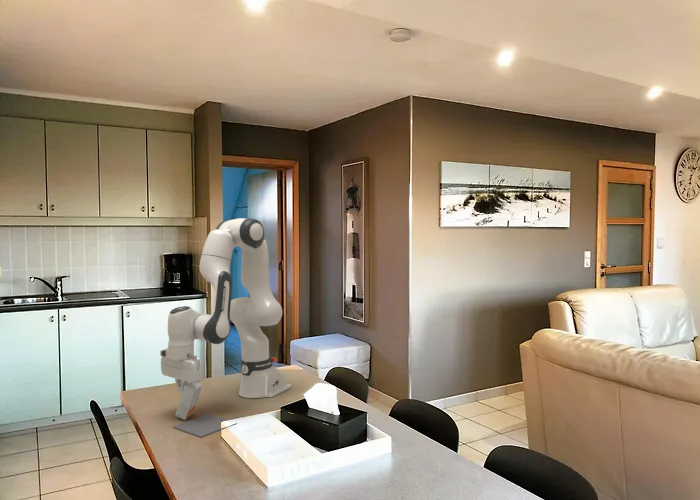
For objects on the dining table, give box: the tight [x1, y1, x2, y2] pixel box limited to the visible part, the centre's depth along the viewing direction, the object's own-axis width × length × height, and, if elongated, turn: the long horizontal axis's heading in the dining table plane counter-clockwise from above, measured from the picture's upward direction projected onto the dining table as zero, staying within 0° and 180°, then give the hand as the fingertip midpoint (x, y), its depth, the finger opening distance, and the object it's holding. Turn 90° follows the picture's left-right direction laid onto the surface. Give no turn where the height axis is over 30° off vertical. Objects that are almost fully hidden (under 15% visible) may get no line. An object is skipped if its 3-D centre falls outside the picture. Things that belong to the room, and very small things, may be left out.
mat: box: [172, 413, 228, 439], centre depth 182 cm, size 15×16×1 cm
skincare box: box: [174, 382, 203, 421], centre depth 189 cm, size 6×4×12 cm
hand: (181, 391), depth 190 cm, fingers closed
